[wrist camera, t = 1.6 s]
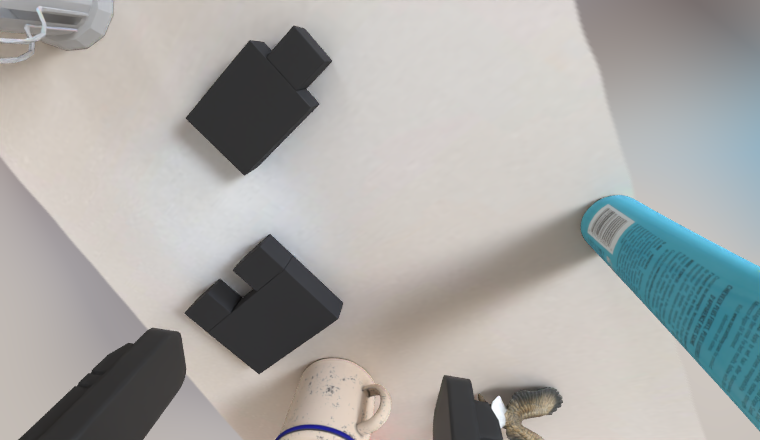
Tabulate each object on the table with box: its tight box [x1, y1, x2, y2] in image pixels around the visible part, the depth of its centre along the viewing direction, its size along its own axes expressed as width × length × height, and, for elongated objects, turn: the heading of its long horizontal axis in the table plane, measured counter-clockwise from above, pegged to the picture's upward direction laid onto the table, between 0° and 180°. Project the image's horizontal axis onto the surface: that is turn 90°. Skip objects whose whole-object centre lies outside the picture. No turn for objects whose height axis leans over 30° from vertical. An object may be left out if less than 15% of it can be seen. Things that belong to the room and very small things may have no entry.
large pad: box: [185, 234, 343, 374], centre depth 36 cm, size 10×12×2 cm
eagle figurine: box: [478, 387, 563, 440], centre depth 37 cm, size 8×7×9 cm
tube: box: [581, 195, 760, 431], centre depth 21 cm, size 7×5×19 cm, turn 7°
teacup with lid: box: [275, 358, 391, 440], centre depth 35 cm, size 12×9×12 cm
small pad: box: [186, 26, 332, 175], centre depth 28 cm, size 11×6×2 cm, turn 132°
